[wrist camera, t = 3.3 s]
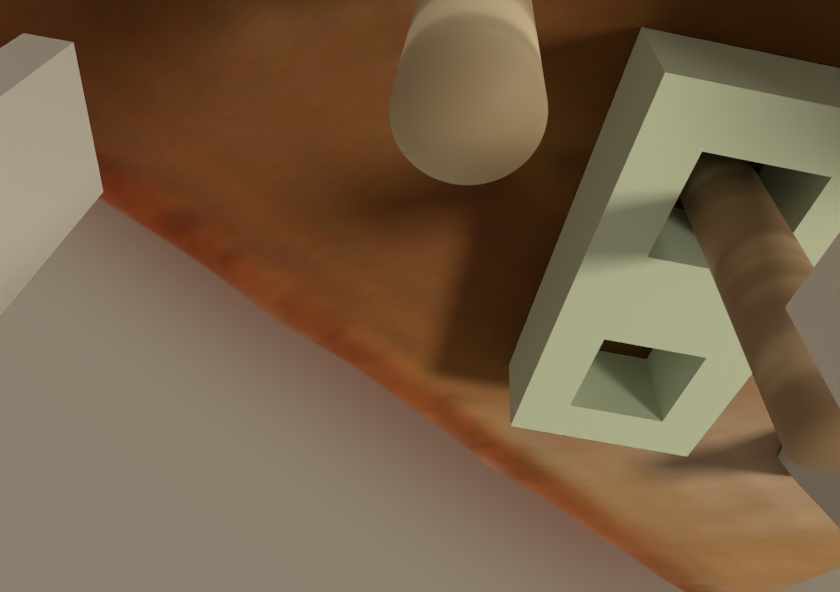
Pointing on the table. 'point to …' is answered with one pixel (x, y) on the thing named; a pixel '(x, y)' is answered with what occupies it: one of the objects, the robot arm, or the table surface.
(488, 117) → the beech peg
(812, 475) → the flask
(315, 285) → the table surface
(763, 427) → the table surface
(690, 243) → the socket board
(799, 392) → the oak peg
